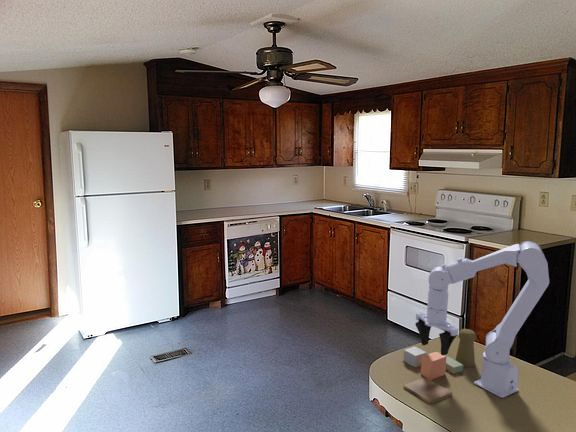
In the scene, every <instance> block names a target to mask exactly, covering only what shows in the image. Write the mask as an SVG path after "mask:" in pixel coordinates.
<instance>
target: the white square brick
mask: <svg viewBox="0 0 576 432" xmlns="http://www.w3.org/2000/svg"><path fill="white" fill-rule="evenodd" d="M424 355H427V351H425V350H423V349H421V348H419V347H418V346H412V347H408V348H406V349H404V350H403V362H405V363H406V362H407V363H406V364H408V363H409V364H408V365H410V366H412V367H413V366H414V368H417V366H418V367H421V361H422V356H424Z"/></svg>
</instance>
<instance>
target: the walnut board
mask: <svg viewBox="0 0 576 432" xmlns="http://www.w3.org/2000/svg"><path fill="white" fill-rule="evenodd" d="M403 388H404V389H405V390H407V391H408V392H410V393H411V394H413V395H414V396H416V397H418V398H419V399H421V400H422V401H424V402H425V403H427V404H429V405H432V404H434V403H437V402H438V401H441V400H444V399H446V398H448V397H450V396H451V397H452V395H453V392H452V391H451V390H449V389H447V388H445V387H443V386H442V385H440V384H438V383H436V382H435V381H433V380H430V379H428V378H426V377H425V376H423V377H422V378H419V379H416V380H413V381H411V382H408V383H406V384H403Z"/></svg>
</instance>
